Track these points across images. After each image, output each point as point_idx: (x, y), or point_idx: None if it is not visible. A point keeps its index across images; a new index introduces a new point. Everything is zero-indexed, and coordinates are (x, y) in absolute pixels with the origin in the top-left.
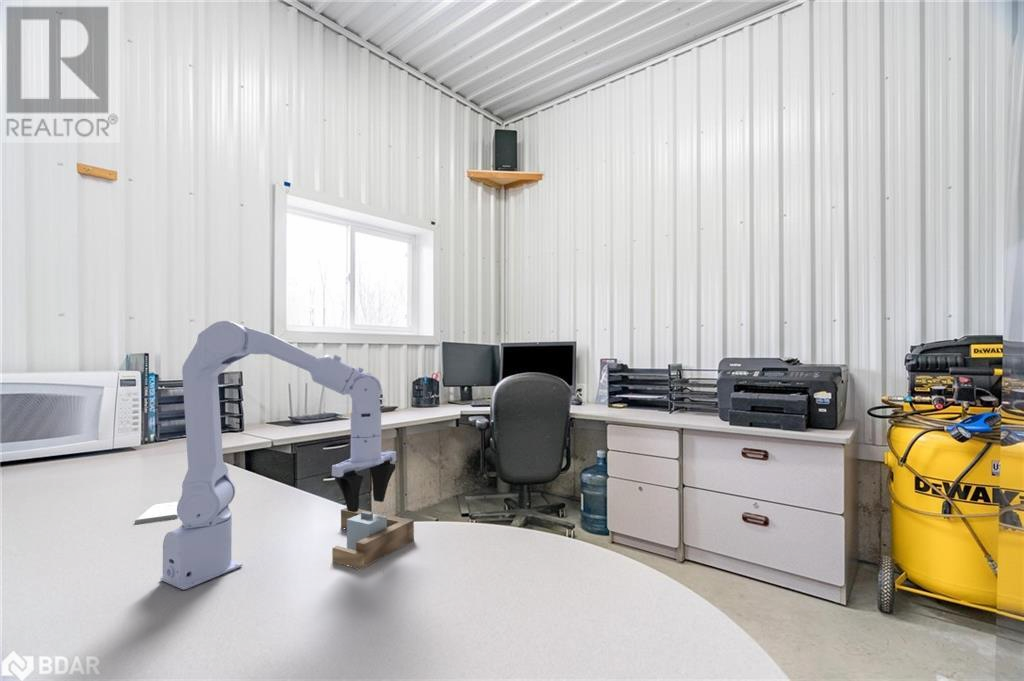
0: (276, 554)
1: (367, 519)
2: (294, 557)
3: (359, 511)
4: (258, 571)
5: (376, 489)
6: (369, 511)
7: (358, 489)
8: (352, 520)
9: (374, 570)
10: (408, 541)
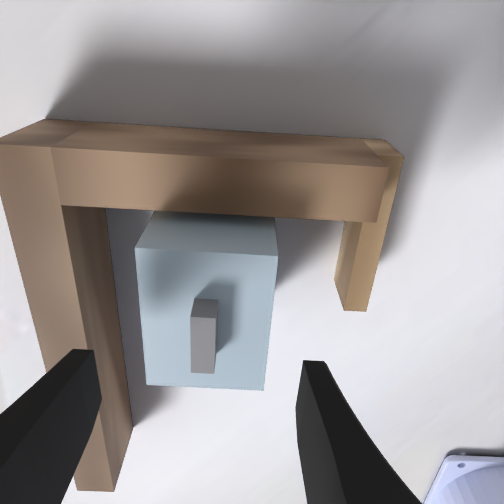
0: None
1: (220, 311)
2: (359, 395)
3: None
4: (461, 407)
5: (65, 455)
6: None
7: (361, 494)
8: (264, 361)
9: (373, 72)
10: (80, 123)
